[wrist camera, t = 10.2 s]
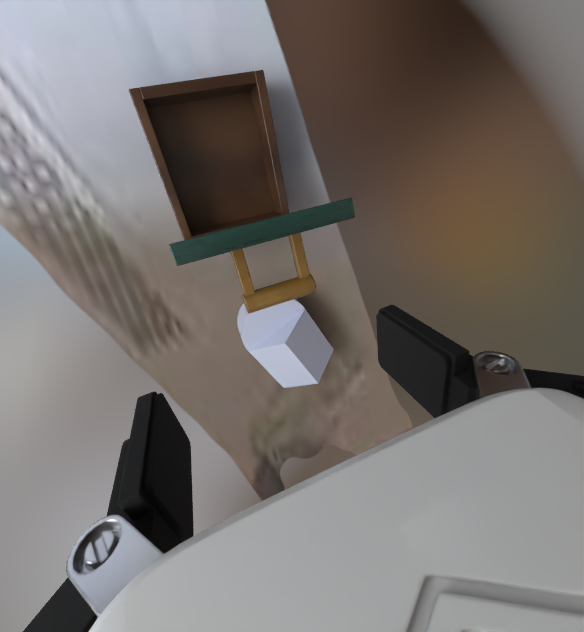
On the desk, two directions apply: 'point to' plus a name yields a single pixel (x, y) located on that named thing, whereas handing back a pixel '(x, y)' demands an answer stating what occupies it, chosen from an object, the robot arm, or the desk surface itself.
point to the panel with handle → (259, 234)
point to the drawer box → (214, 150)
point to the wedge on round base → (286, 343)
